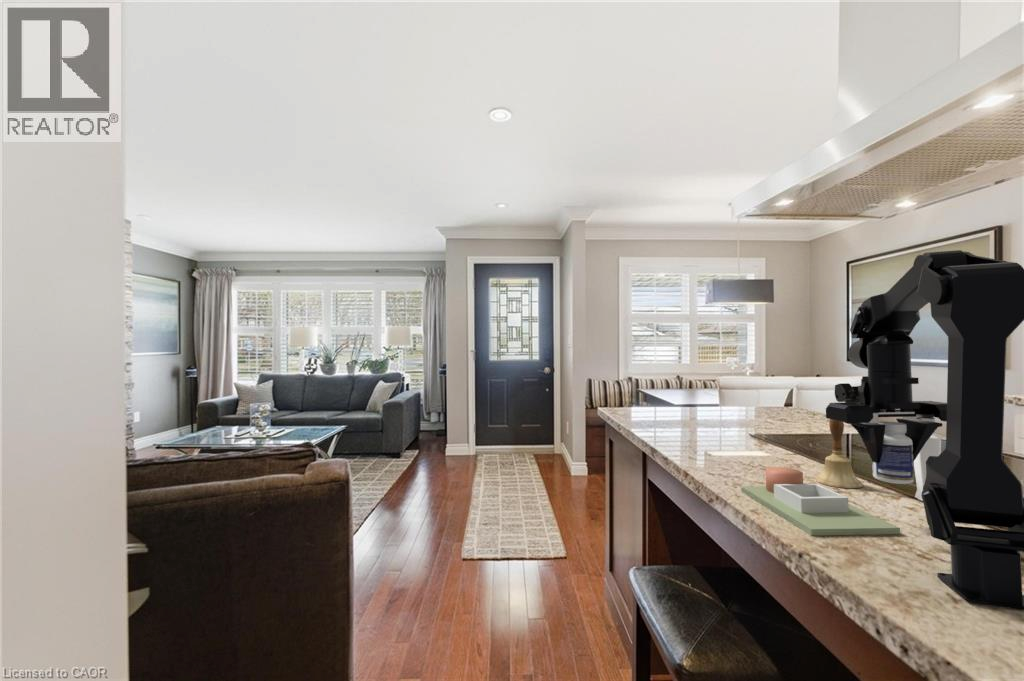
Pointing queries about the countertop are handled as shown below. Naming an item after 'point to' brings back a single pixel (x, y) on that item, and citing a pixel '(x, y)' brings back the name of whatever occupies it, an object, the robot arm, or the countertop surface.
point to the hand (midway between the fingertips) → (892, 462)
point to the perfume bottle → (929, 449)
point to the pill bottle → (895, 456)
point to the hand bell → (838, 463)
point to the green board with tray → (814, 506)
